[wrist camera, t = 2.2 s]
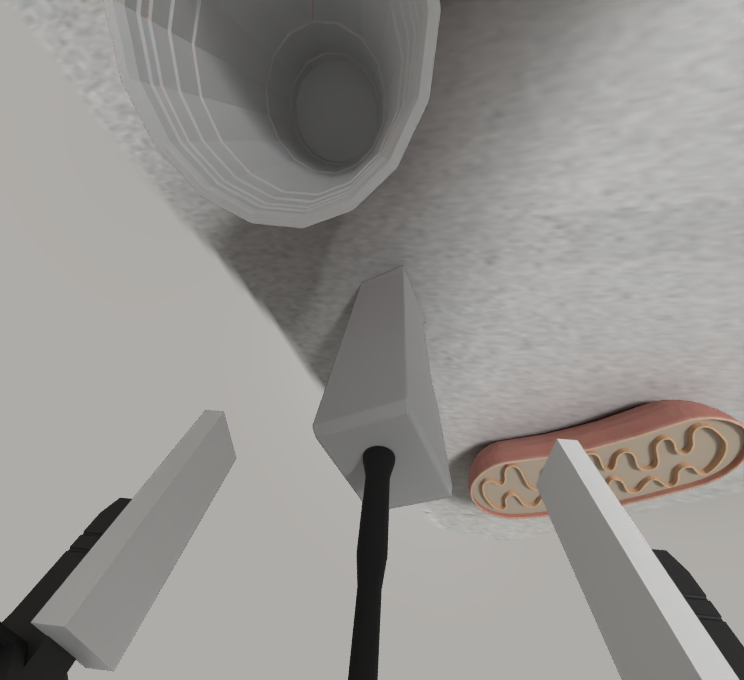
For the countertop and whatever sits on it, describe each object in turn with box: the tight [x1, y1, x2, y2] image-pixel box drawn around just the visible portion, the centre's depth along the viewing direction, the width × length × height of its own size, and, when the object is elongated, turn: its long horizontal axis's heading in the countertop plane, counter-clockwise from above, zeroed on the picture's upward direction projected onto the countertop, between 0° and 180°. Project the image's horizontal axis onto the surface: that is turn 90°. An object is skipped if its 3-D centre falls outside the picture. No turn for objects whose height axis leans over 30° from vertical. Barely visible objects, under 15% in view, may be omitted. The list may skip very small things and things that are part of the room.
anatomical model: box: [469, 400, 744, 519], centre depth 30 cm, size 23×10×5 cm, turn 117°
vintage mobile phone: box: [313, 266, 452, 680], centre depth 15 cm, size 4×5×25 cm
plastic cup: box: [103, 0, 441, 228], centre depth 14 cm, size 11×11×12 cm
